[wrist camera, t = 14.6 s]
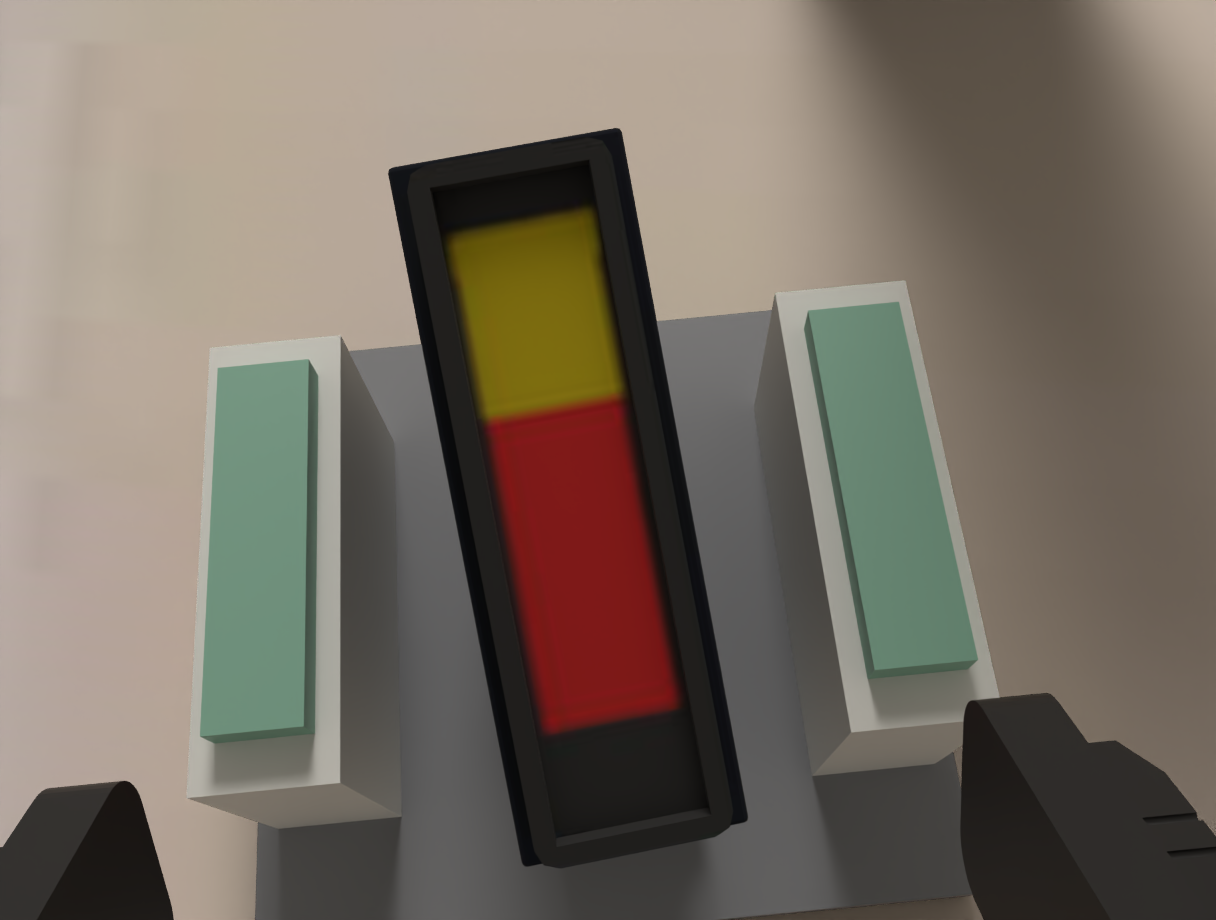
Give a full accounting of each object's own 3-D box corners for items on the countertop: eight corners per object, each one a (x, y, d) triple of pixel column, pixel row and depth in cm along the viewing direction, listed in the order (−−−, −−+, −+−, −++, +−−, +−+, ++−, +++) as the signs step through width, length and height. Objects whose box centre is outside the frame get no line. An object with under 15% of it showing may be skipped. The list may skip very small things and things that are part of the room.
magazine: (590, 253, 32) (626, 106, 17) (676, 713, 33) (783, 961, 18) (457, 277, 32) (375, 150, 17) (546, 739, 32) (542, 1011, 18)
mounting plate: (286, 383, 34) (182, 220, 27) (852, 327, 35) (908, 149, 27) (273, 964, 28) (132, 968, 21) (966, 895, 28) (1083, 875, 21)
